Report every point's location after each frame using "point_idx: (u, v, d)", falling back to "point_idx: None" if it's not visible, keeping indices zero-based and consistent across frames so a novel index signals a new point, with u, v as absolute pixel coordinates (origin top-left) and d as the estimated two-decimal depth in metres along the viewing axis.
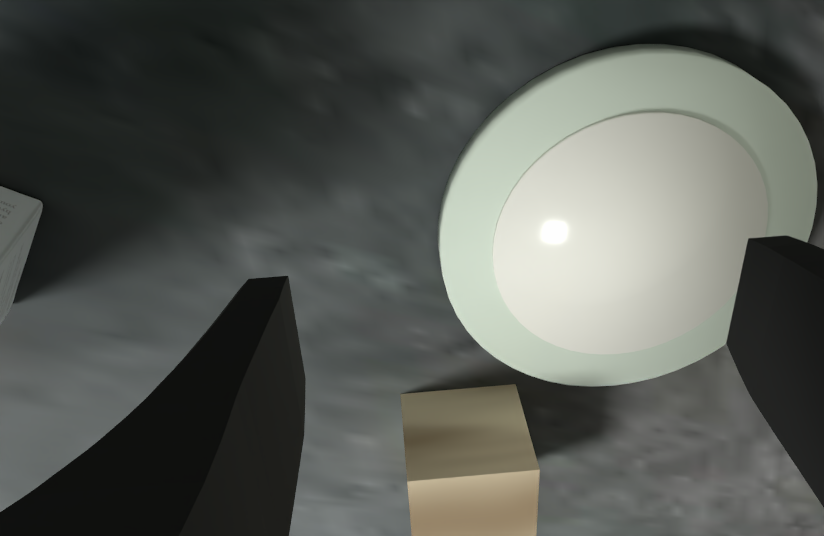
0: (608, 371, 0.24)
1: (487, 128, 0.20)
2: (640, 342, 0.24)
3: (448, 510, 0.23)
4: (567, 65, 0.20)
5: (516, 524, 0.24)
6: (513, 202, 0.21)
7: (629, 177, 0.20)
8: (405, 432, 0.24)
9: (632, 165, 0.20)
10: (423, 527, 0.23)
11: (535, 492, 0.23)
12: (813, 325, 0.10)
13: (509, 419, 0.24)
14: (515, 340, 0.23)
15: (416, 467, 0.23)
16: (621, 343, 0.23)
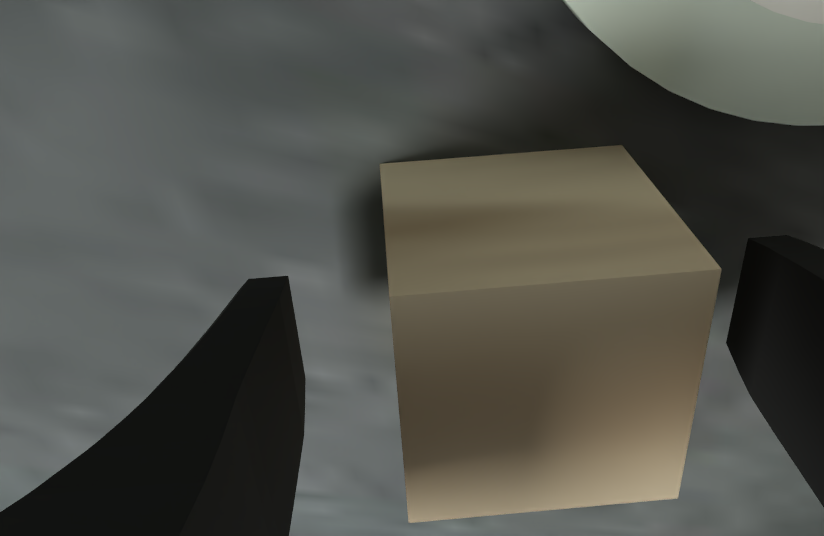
0: None
1: None
2: None
3: (490, 381, 0.10)
4: None
5: (646, 422, 0.10)
6: None
7: None
8: (388, 216, 0.11)
9: None
10: (428, 427, 0.10)
11: (701, 336, 0.09)
12: (813, 326, 0.10)
13: (623, 191, 0.11)
14: None
15: (412, 272, 0.09)
16: None
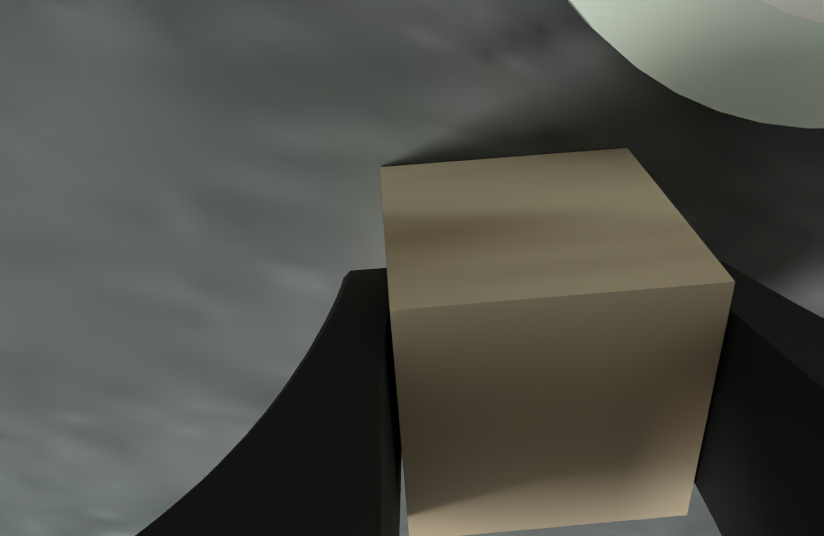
0: None
1: None
2: None
3: (493, 397, 0.09)
4: None
5: (655, 438, 0.10)
6: None
7: None
8: (388, 224, 0.10)
9: None
10: (429, 442, 0.10)
11: (713, 350, 0.09)
12: None
13: (632, 199, 0.10)
14: None
15: (412, 283, 0.09)
16: None
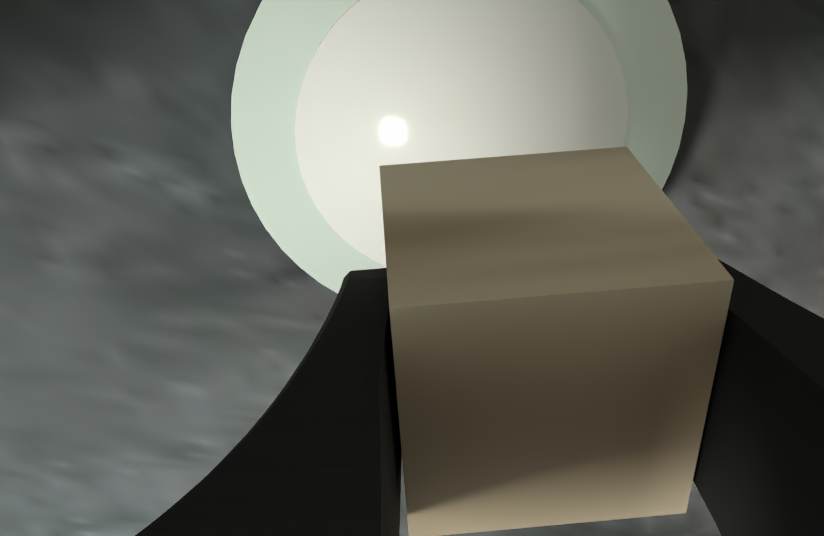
0: None
1: None
2: None
3: (492, 394, 0.09)
4: None
5: (654, 436, 0.10)
6: (311, 80, 0.17)
7: (450, 48, 0.17)
8: (388, 222, 0.10)
9: (452, 32, 0.17)
10: (428, 441, 0.10)
11: (711, 348, 0.09)
12: None
13: (631, 197, 0.10)
14: (341, 261, 0.20)
15: (412, 281, 0.09)
16: None
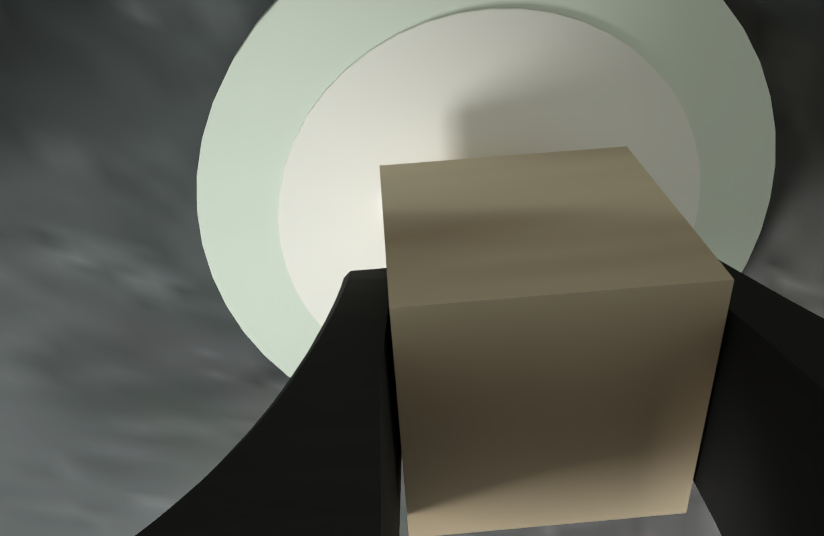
0: None
1: (247, 37, 0.13)
2: None
3: (493, 394, 0.09)
4: None
5: (654, 435, 0.10)
6: (298, 157, 0.13)
7: (477, 117, 0.13)
8: (388, 222, 0.10)
9: (480, 97, 0.13)
10: (429, 440, 0.10)
11: (712, 347, 0.09)
12: None
13: (631, 197, 0.10)
14: None
15: (412, 281, 0.09)
16: None
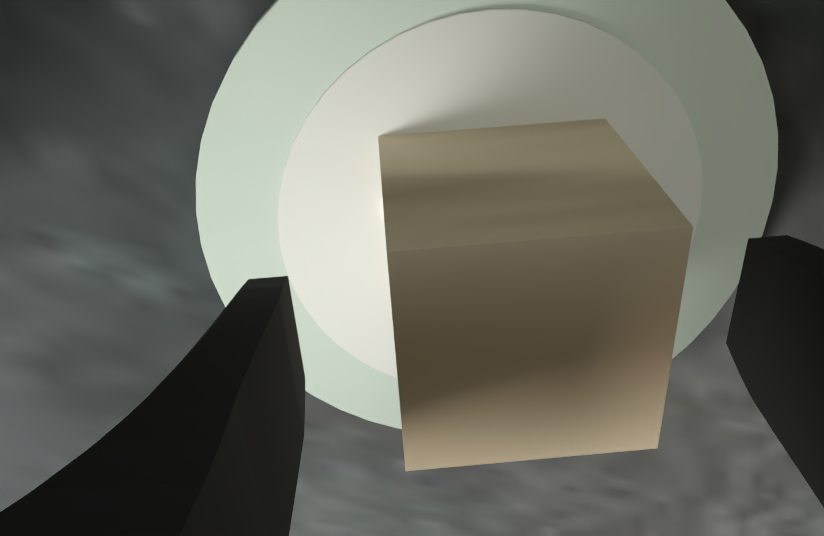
0: None
1: (247, 38, 0.13)
2: None
3: (480, 333, 0.10)
4: None
5: (626, 373, 0.11)
6: (298, 159, 0.13)
7: (478, 118, 0.13)
8: (385, 183, 0.11)
9: (481, 99, 0.13)
10: (423, 377, 0.11)
11: (675, 291, 0.10)
12: (813, 326, 0.10)
13: (605, 160, 0.12)
14: (338, 370, 0.16)
15: (407, 230, 0.10)
16: None
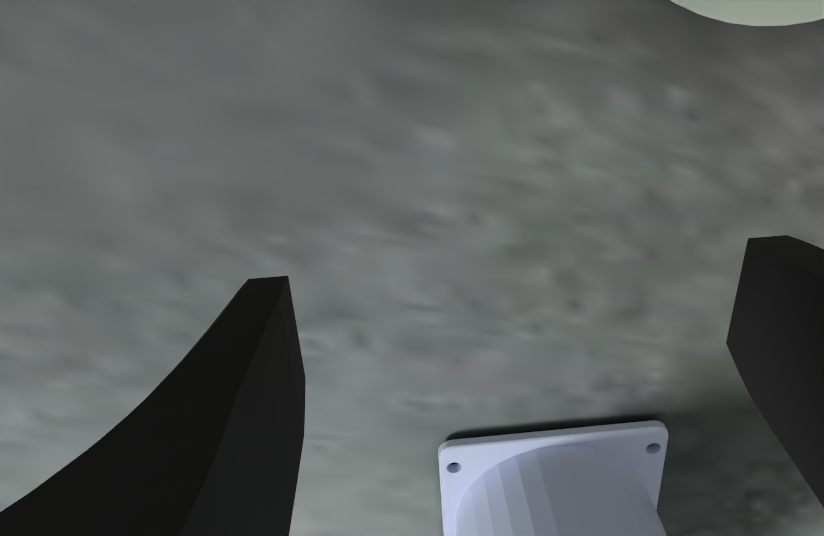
0: None
1: None
2: None
3: None
4: None
5: None
6: None
7: None
8: None
9: None
10: None
11: None
12: (813, 326, 0.10)
13: None
14: None
15: None
16: None
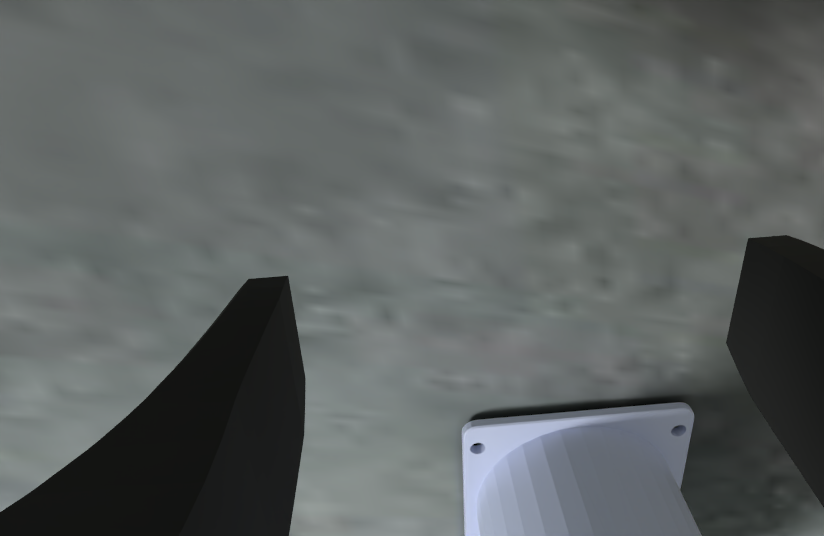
0: None
1: None
2: None
3: None
4: None
5: None
6: None
7: None
8: None
9: None
10: None
11: None
12: (813, 326, 0.10)
13: None
14: None
15: None
16: None
